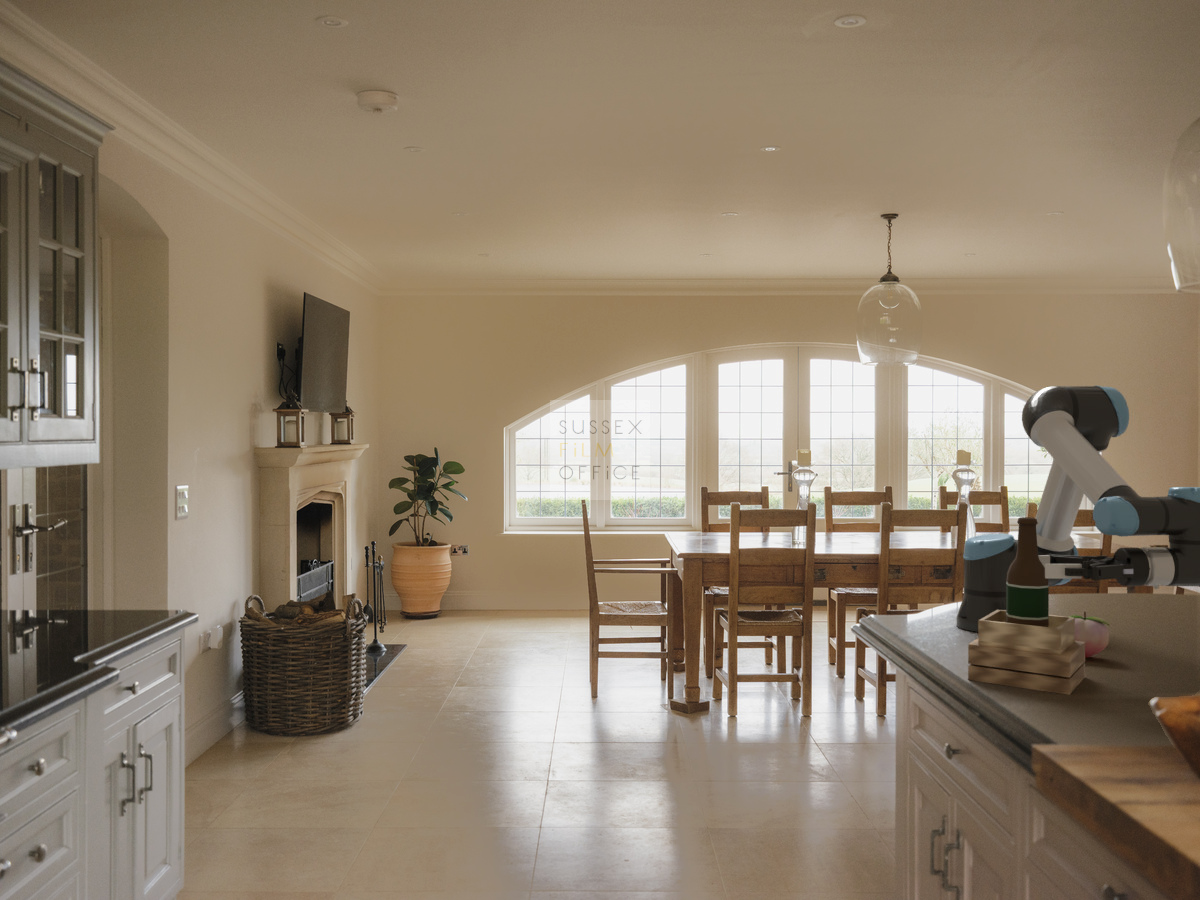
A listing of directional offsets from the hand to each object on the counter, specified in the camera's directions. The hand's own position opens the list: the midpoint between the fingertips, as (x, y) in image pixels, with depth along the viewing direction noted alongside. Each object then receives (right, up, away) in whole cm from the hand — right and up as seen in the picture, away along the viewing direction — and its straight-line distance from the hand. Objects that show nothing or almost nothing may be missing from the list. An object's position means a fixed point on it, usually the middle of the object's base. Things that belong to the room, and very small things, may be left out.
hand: (1030, 566), depth 180 cm
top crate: (-1, -15, 0) cm, 15 cm away
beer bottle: (-1, -15, 0) cm, 15 cm away
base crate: (-1, -22, 0) cm, 22 cm away
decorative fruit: (+20, -22, +18) cm, 35 cm away
